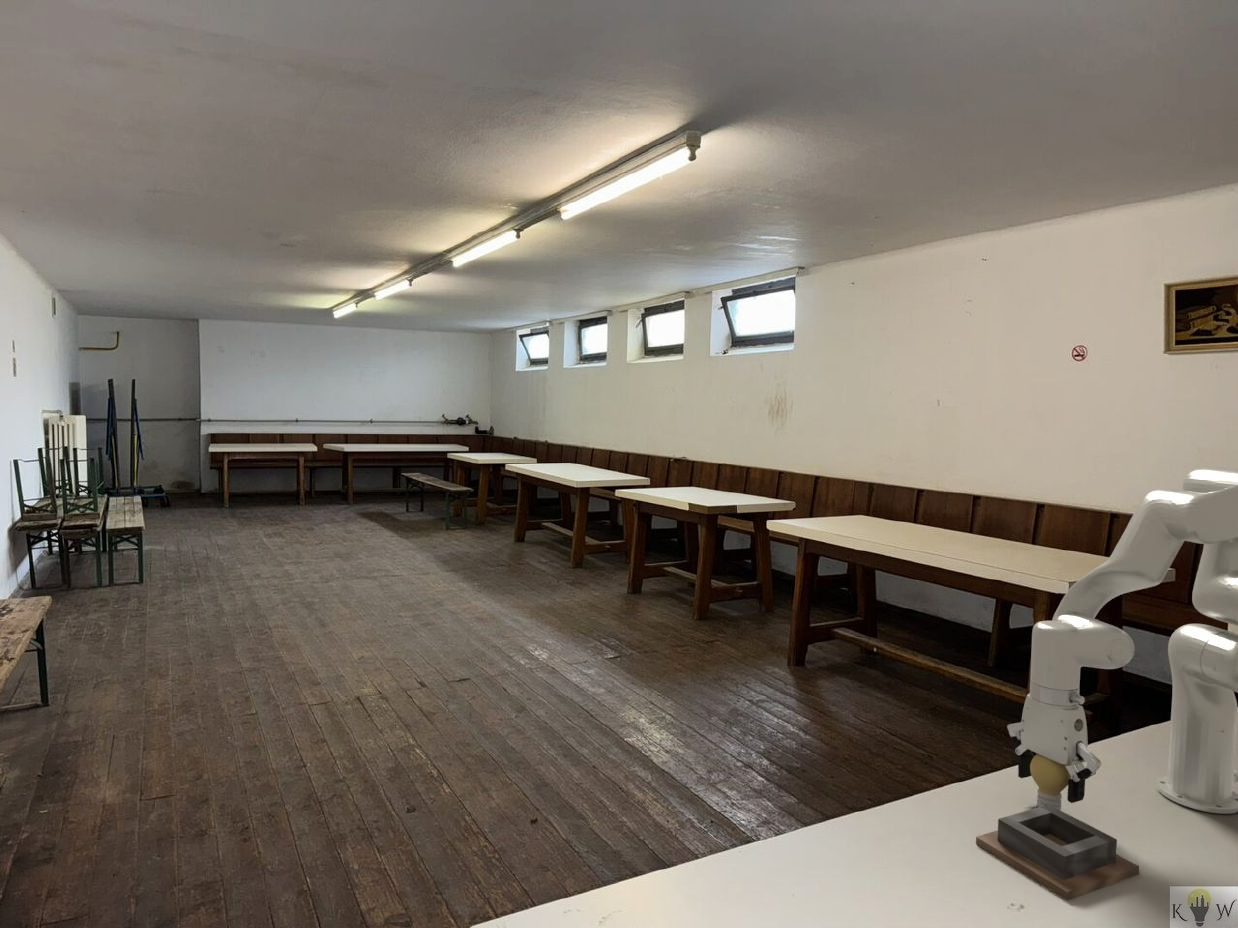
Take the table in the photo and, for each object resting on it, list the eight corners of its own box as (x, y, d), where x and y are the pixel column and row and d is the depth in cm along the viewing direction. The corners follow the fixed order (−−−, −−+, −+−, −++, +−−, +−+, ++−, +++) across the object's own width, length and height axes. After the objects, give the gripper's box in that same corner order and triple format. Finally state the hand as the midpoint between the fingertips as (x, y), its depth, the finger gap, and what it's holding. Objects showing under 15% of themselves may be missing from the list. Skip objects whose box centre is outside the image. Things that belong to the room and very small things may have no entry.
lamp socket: (1044, 822, 134) (1045, 795, 134) (1139, 873, 120) (1140, 843, 119) (975, 843, 128) (977, 815, 127) (1067, 899, 113) (1068, 867, 113)
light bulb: (1075, 820, 135) (1078, 763, 134) (1034, 816, 136) (1037, 760, 136) (1062, 802, 141) (1064, 747, 141) (1023, 798, 143) (1026, 744, 142)
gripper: (1116, 707, 131) (1111, 806, 132) (1025, 674, 147) (1021, 764, 148) (1086, 714, 128) (1081, 815, 129) (996, 680, 144) (993, 771, 145)
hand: (1049, 788), depth 139 cm, fingers open, 9 cm apart
